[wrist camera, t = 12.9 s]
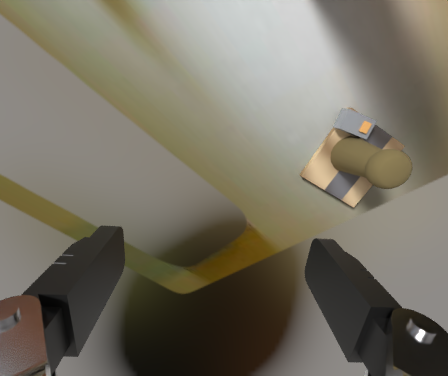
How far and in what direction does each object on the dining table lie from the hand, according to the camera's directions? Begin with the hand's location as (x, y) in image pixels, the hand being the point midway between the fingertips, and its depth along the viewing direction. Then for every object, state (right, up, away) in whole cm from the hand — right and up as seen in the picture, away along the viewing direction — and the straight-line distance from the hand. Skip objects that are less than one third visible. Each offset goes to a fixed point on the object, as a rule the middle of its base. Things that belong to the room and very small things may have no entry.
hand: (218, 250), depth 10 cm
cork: (+21, +8, +29) cm, 37 cm away
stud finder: (+21, +13, +27) cm, 36 cm away
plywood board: (+22, +8, +30) cm, 38 cm away
